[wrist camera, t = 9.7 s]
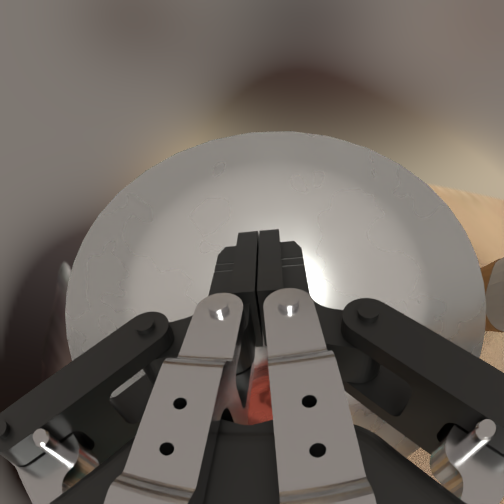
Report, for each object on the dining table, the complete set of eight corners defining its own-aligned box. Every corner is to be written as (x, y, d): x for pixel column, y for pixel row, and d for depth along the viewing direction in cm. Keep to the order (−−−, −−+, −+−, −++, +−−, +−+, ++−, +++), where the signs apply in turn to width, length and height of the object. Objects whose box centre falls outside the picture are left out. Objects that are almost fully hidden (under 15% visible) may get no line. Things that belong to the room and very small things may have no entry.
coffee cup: (477, 346, 29) (559, 350, 14) (431, 318, 30) (510, 309, 16) (499, 287, 30) (577, 265, 15) (456, 256, 32) (531, 218, 17)
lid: (146, 478, 19) (134, 507, 16) (43, 180, 14) (0, 186, 10) (425, 465, 17) (437, 494, 14) (481, 136, 11) (523, 132, 8)
